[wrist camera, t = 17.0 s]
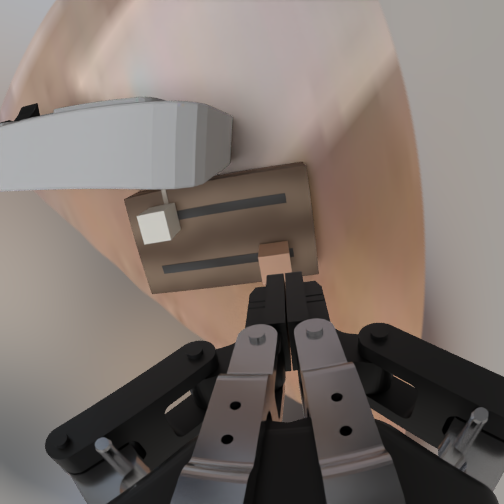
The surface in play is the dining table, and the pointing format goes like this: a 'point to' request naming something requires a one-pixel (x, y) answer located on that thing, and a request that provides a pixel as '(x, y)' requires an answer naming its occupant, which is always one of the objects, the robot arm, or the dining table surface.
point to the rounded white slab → (115, 146)
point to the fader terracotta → (274, 259)
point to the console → (228, 228)
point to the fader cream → (159, 223)
